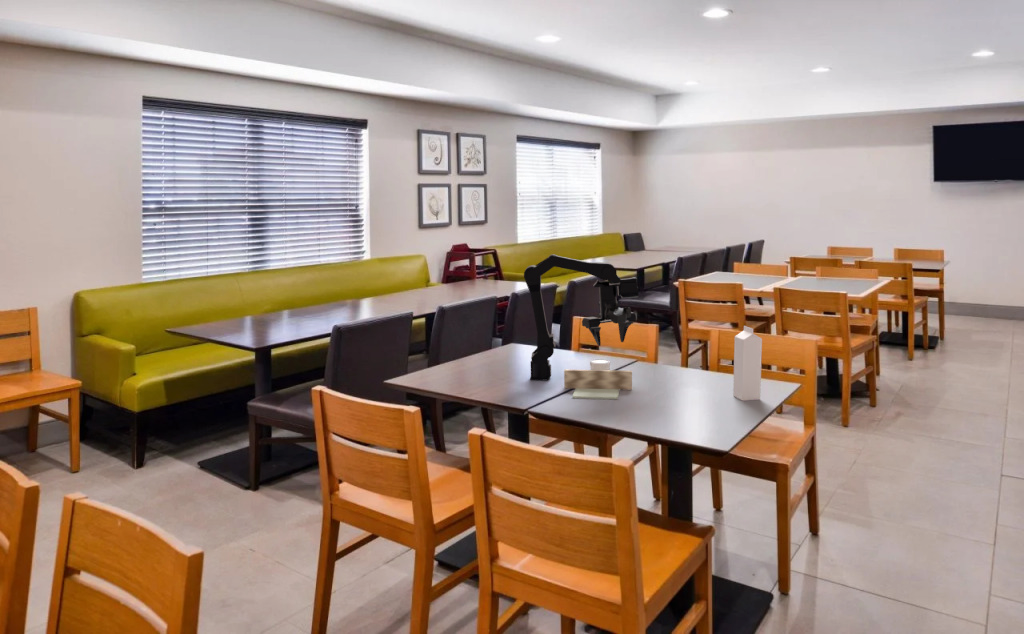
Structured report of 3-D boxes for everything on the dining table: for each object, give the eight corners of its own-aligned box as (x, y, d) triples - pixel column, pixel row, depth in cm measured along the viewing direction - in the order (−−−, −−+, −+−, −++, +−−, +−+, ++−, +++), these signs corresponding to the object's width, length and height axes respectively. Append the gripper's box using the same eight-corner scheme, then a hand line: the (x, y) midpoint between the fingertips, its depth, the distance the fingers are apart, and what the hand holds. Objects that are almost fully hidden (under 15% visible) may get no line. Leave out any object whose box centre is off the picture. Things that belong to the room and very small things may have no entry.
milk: (750, 394, 226) (753, 325, 223) (760, 399, 220) (763, 328, 217) (732, 396, 225) (734, 325, 222) (741, 401, 219) (744, 329, 216)
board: (564, 388, 240) (564, 370, 239) (564, 387, 241) (564, 369, 240) (631, 389, 235) (631, 371, 235) (631, 388, 237) (632, 370, 236)
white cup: (609, 383, 244) (609, 363, 243) (589, 383, 245) (588, 363, 244) (610, 379, 251) (610, 359, 250) (591, 378, 252) (590, 358, 251)
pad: (572, 398, 227) (572, 396, 227) (575, 390, 237) (575, 388, 237) (617, 399, 224) (617, 397, 224) (619, 391, 234) (619, 389, 234)
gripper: (596, 304, 237) (599, 351, 240) (644, 298, 244) (646, 343, 247) (579, 301, 248) (582, 346, 250) (626, 295, 255) (629, 339, 257)
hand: (610, 344), depth 251 cm, fingers open, 9 cm apart
